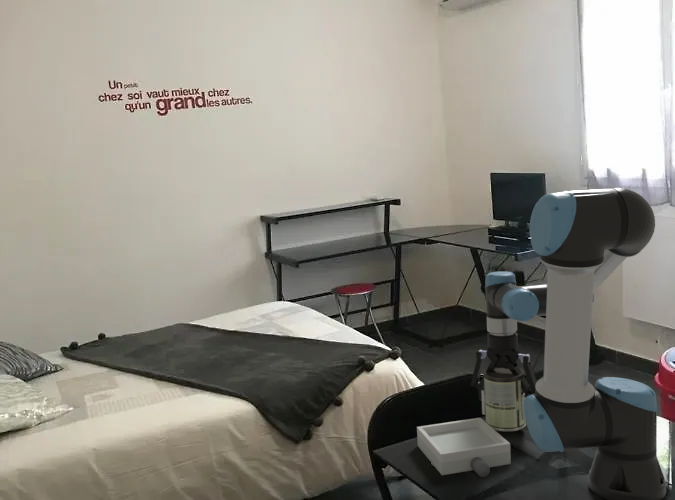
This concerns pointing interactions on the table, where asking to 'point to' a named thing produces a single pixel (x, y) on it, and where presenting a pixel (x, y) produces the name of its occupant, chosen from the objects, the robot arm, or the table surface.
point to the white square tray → (463, 446)
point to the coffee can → (503, 400)
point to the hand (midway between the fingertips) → (505, 415)
